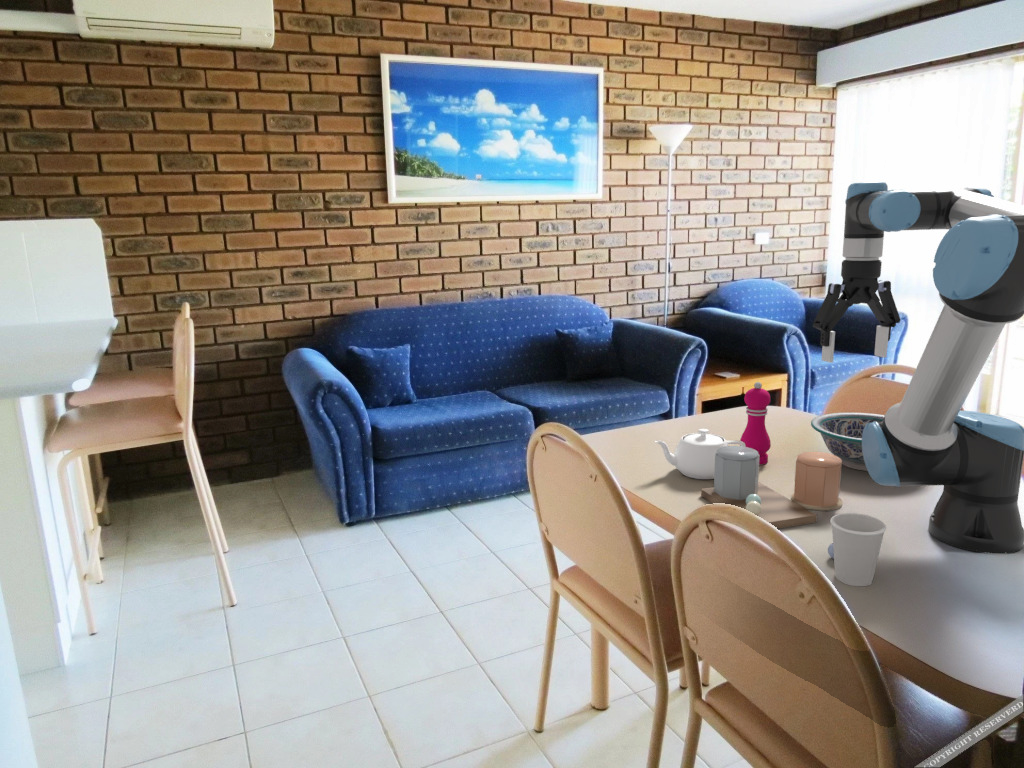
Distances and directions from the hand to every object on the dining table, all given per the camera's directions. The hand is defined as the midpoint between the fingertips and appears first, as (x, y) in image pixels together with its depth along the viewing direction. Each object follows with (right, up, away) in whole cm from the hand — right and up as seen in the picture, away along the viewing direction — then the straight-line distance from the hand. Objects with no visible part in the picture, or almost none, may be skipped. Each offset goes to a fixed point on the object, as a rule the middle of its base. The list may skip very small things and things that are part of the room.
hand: (854, 359), depth 158 cm
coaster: (-9, -30, -2) cm, 32 cm away
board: (-23, -31, -5) cm, 39 cm away
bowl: (+12, -25, +20) cm, 34 cm away
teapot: (-29, -27, +17) cm, 43 cm away
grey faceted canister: (-25, -29, 0) cm, 38 cm away
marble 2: (-24, -30, -13) cm, 41 cm away
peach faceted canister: (-9, -30, -2) cm, 31 cm away
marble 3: (-17, -36, -29) cm, 49 cm away
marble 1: (-23, -29, -10) cm, 39 cm away
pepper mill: (-14, -25, +24) cm, 37 cm away
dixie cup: (-16, -38, -35) cm, 54 cm away
